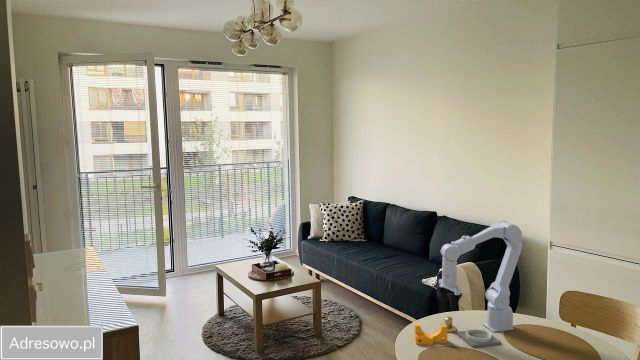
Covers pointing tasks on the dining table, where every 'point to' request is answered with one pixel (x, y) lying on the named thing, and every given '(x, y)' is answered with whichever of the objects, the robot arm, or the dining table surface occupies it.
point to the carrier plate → (478, 337)
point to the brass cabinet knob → (449, 325)
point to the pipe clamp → (430, 335)
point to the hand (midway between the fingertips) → (448, 306)
